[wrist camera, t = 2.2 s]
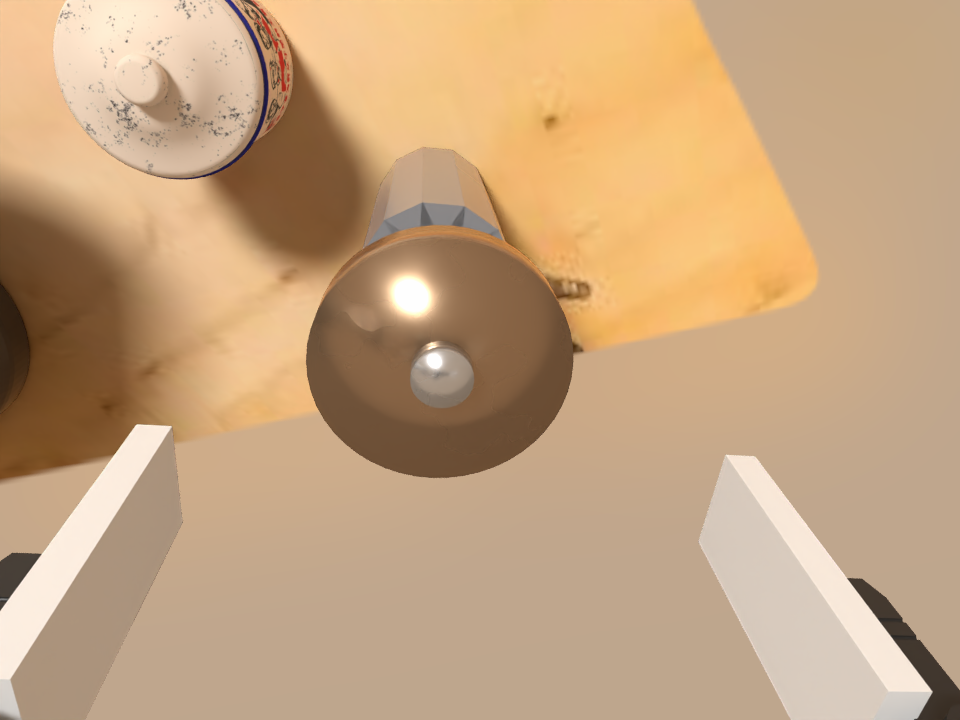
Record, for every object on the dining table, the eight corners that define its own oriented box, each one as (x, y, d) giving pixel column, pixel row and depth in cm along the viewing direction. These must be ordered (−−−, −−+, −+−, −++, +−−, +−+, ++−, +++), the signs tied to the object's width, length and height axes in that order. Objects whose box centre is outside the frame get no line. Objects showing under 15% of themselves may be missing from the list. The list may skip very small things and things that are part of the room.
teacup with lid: (315, 138, 40) (277, 178, 30) (161, 159, 40) (69, 208, 29) (261, -105, 35) (190, -160, 24) (83, -81, 35) (-65, -126, 24)
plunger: (347, 318, 36) (303, 486, 23) (351, 149, 32) (300, 235, 19) (509, 329, 36) (555, 496, 24) (531, 166, 33) (601, 259, 20)
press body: (376, 291, 44) (357, 396, 32) (382, 143, 40) (363, 196, 28) (476, 299, 45) (496, 404, 33) (492, 153, 41) (522, 211, 29)
